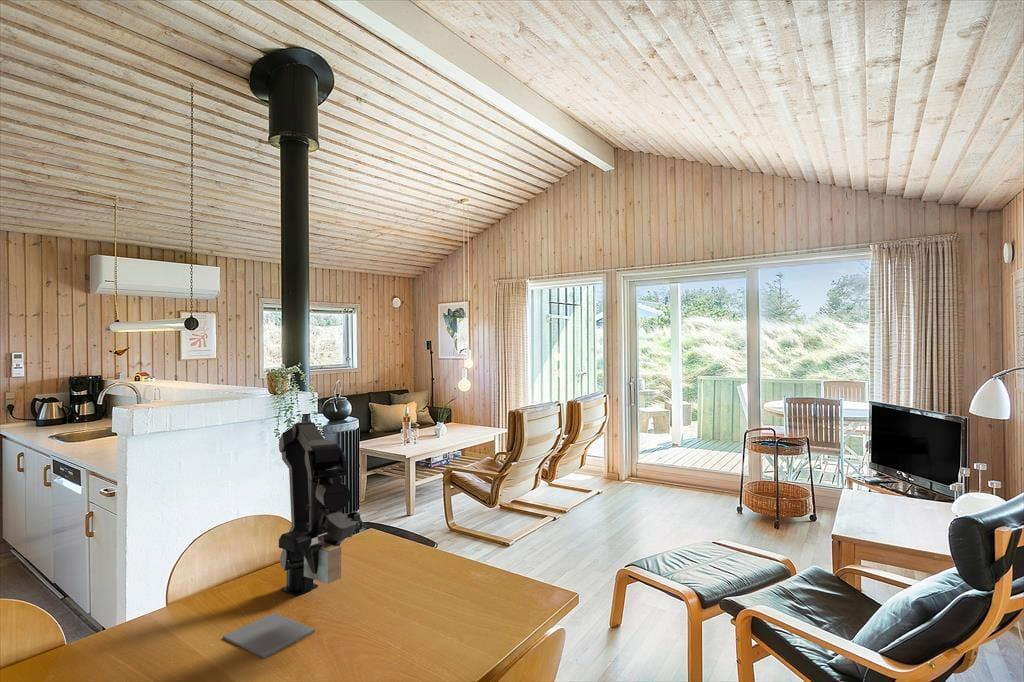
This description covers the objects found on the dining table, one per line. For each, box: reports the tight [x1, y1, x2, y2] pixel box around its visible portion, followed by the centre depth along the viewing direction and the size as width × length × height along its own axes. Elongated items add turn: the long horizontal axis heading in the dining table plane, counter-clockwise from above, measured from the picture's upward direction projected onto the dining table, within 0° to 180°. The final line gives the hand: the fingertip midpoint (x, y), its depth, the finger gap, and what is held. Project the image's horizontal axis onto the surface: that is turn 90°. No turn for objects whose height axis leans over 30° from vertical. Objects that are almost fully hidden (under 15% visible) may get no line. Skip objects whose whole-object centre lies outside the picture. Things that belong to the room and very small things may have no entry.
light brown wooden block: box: [304, 540, 342, 585], centre depth 120 cm, size 8×4×7 cm, turn 59°
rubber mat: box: [222, 612, 316, 659], centre depth 113 cm, size 14×12×1 cm
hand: (322, 570), depth 120 cm, fingers closed on light brown wooden block, 4 cm apart
